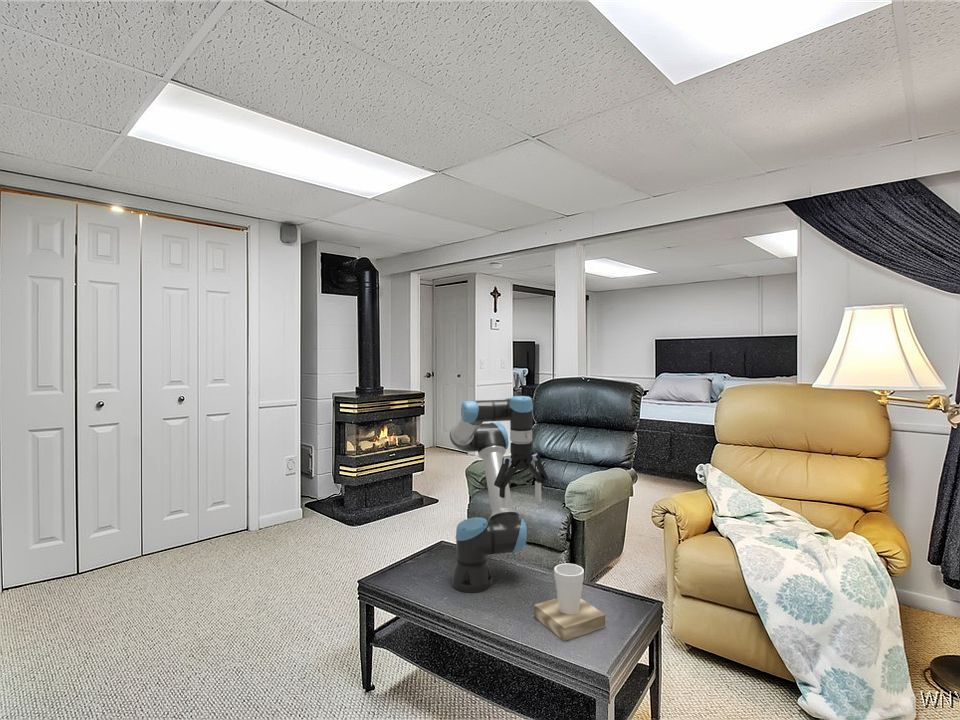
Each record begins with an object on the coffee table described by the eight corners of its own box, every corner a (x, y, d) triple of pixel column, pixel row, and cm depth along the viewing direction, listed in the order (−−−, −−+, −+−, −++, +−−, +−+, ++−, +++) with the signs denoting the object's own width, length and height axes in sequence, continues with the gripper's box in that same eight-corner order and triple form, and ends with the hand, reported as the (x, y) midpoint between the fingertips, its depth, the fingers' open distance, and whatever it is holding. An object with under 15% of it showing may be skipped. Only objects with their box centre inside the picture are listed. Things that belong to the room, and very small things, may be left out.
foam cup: (550, 613, 165) (550, 572, 165) (559, 600, 173) (558, 561, 173) (579, 619, 161) (579, 578, 160) (587, 606, 169) (587, 566, 169)
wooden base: (534, 616, 171) (534, 604, 170) (573, 604, 178) (573, 593, 178) (564, 641, 156) (564, 628, 156) (605, 627, 164) (605, 614, 164)
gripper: (494, 447, 168) (495, 512, 169) (557, 440, 180) (557, 501, 180) (483, 443, 174) (484, 506, 175) (545, 436, 186) (545, 495, 187)
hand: (521, 503), depth 178 cm, fingers open, 13 cm apart
